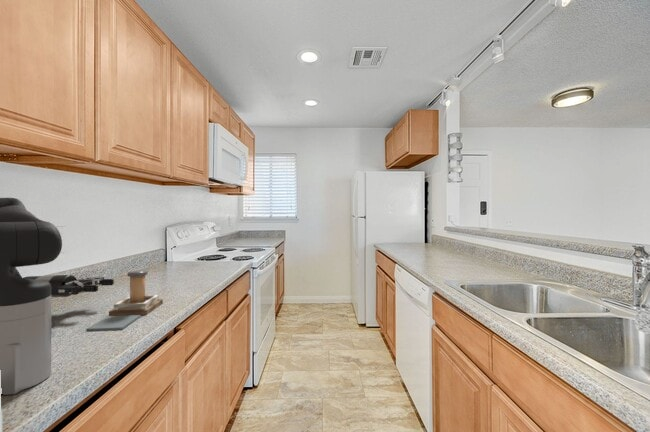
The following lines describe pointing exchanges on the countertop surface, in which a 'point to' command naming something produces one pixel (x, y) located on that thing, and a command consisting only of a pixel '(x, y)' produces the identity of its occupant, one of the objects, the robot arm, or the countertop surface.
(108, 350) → the countertop surface
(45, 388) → the countertop surface
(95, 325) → the slate mat
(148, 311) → the square wooden tray
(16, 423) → the countertop surface
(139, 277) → the cable spool
